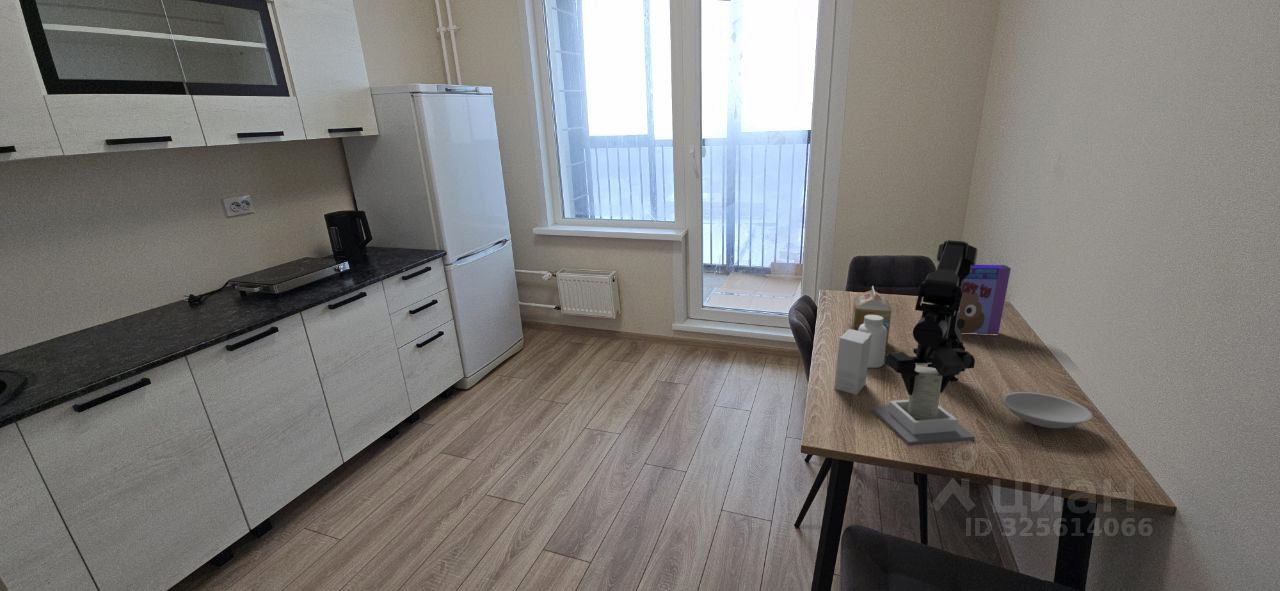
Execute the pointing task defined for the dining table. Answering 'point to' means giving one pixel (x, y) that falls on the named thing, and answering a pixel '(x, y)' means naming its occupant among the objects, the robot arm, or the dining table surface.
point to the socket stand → (921, 425)
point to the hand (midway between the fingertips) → (924, 393)
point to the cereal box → (983, 299)
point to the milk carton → (871, 310)
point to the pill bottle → (875, 339)
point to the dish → (1046, 409)
